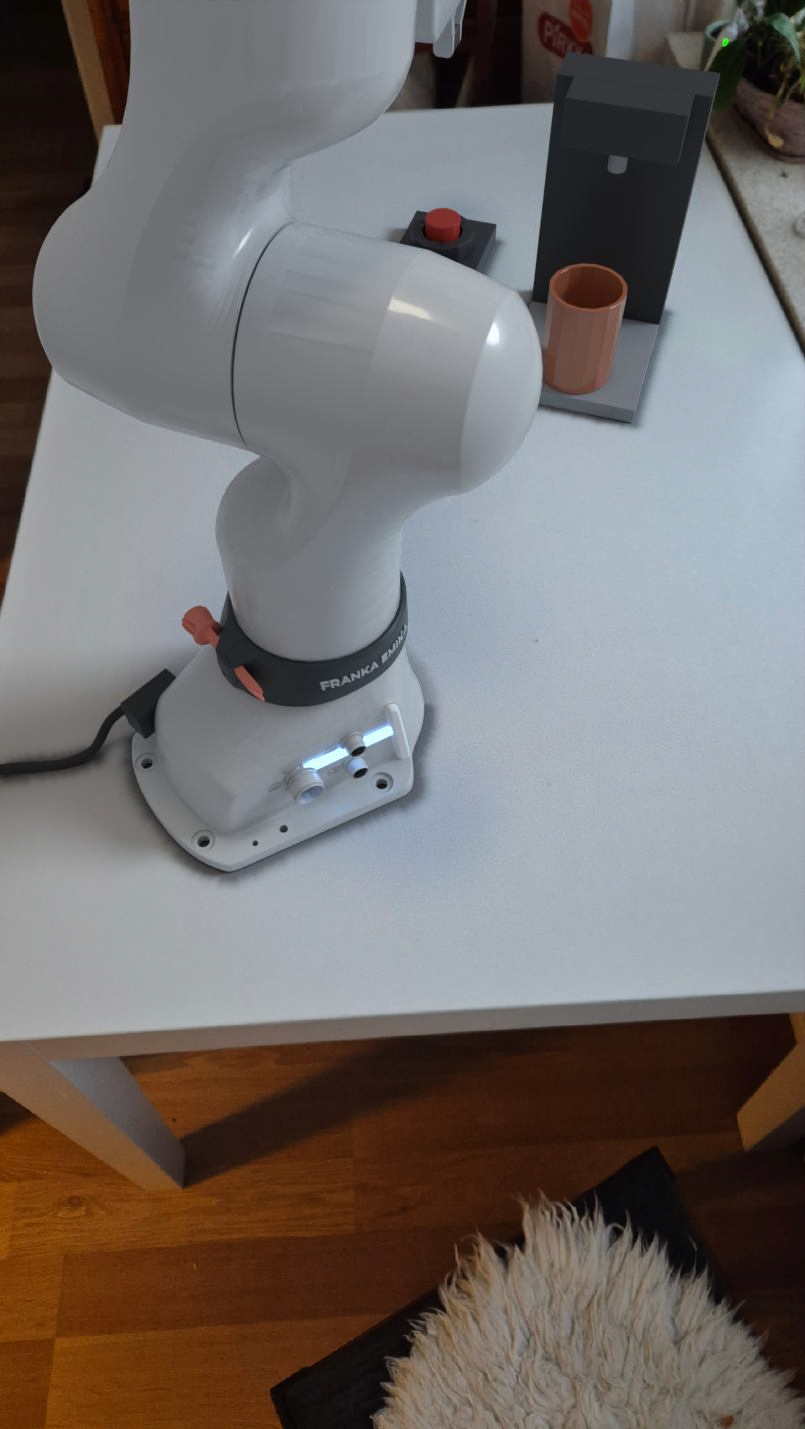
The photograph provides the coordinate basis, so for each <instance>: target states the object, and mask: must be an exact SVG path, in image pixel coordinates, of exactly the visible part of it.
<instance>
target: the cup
mask: <svg viewBox="0 0 805 1429" xmlns="http://www.w3.org/2000/svg"><path fill="white" fill-rule="evenodd" d="M626 297H627V284H626V282H625V281H624V279H623V278H622V276H621V275H619V274H618V273H616V272H615V271H613V270H612V269H610V268H607V267H604V266H601V265H597V264H585V263H583V264H582V263H581V264H575V265H570V266H567V267H565V268H563V269H561V270H559V271H557V272H556V273H555V274H554V276H553V277H552V278H551V279H550V285H549V293H548V301H547V308H546V316H545V324H544V332H543V340H542V348H541V353H542V366H543V372H542V379H543V380H544V382H545V383H546V384H547V385H549V386H550V387H551V388H553V389H555V390H557V391H560V392H563V393H567V394H577V395H578V394H588V393H592V392H595V391H597V390H599V389H600V388H602V387H603V386H604V385H605V384H606V383H607V382H608V380H609V378H610V375H611V372H612V367H613V362H614V357H615V352H616V347H617V342H618V337H619V332H620V327H621V322H622V317H623V312H624V307H625V302H626Z"/></svg>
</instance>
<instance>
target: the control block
mask: <svg viewBox="0 0 805 1429" xmlns="http://www.w3.org/2000/svg"><path fill="white" fill-rule="evenodd" d="M428 212H429V211H423V210H416V211H415V212H414V215H413V216H412V219H411V220H410V222H409V224H408V226H407V228H406V230H405V232H404V234H403V235H402V238H401V239H400V241H399V244H403V245H408V246H412V247H417V248H422V249H426V250H430V251H432V252H434V253H437V254H439V255H441V256H444V257H446V258H448V259H450V260H453V261H455V262H457V263H460V264H462V265H464V266H466V267H469V268H471V269H473V270H475V271H477V272H479V273H481V274H483V271H484V269H485V266H486V264H487V262H488V260H489V258H490V256H491V253H492V251H493V249H494V247H495V244H496V239H497V238H496V237H497V226H498V225H497V223H493V222H492V223H491V222H487V221H480V220H475V219H469V218H466V217H464V216H463V215H461V214H459V216H460V235H459V237H458V238H457V239H455V240H453V241H449V242H437V241H431V240H430V239H428V238H427V237H426V235H425V217H426V215H427V213H428Z"/></svg>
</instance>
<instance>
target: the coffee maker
mask: <svg viewBox="0 0 805 1429" xmlns="http://www.w3.org/2000/svg"><path fill="white" fill-rule="evenodd" d="M720 77H721V72H715V71H708V70H700V69H693V68H686V67H680V66H674V65H673V66H672V65H665V64H657V63H652V62H645V61H638V60H629V59H623V58H616V57H609V56H602V55H594V54H587V53H581V52H573V51H566V54H565V56H564V58H563V60H562V62H561V64H560V67H559V69H558V71H557V73H556V78H555V79H556V80H555V87H554V97H553V104H552V114H551V123H550V125H551V126H550V133H549V141H548V150H547V160H546V169H545V178H544V186H543V195H542V196H543V197H542V203H541V214H540V222H539V223H540V224H539V230H538V231H539V232H538V239H537V240H538V241H537V249H536V256H535V257H536V258H535V267H534V276H533V286H532V293H531V294H532V295H531V302H530V304H529V307H528V310H529V312H530V314H531V317H532V319H533V321H534V324H535V327H536V330H537V333H538V337H539V342H540V347H541V348H542V340H543V332H544V324H545V316H546V308H547V301H548V293H549V285H550V279H551V278H552V277H553V276H554V274H555V273H556V272H557V271H559V270H561V269H563V268H565V267H567V266H570V265H575V264H581V263H582V264H583V263H585V264H597V265H601V266H604V267H607V268H610V269H612V270H613V271H615V272H616V273H618V274H619V275H621V276H622V278H623V279H624V281H625V282H626V284H627V297H626V302H625V307H624V312H623V317H622V322H621V327H620V332H619V337H618V342H617V347H616V352H615V357H614V362H613V367H612V372H611V375H610V378H609V380H608V382H607V383H606V384H605V385H604V386H603V387H602V388H600V389H599V390H597V391H595V392H592V393H588V394H578V395H577V394H567V393H563V392H560V391H557V390H555V389H553V388H551V387H550V386H549V385H547V384H546V383H545V382H544V380H543V379H542V388H541V394H540V399H539V404H538V405H542V406H546V407H553V408H557V409H561V410H567V411H572V412H577V413H580V414H581V413H582V414H587V415H591V416H596V417H601V418H607V419H611V420H616V421H621V422H625V423H630V424H631V423H633V421H634V417H635V415H636V410H637V407H638V403H639V401H640V400H639V399H640V396H641V393H642V389H643V386H644V382H645V379H646V376H647V371H648V368H649V366H650V361H651V358H652V354H653V351H654V347H655V343H656V340H657V336H658V334H659V329H660V326H661V322H662V318H663V315H664V311H665V308H666V302H667V300H668V299H667V298H668V295H669V291H670V286H671V282H672V277H673V273H674V270H675V265H676V262H677V257H678V253H679V249H680V244H681V240H682V236H683V232H684V228H685V224H686V219H687V216H688V211H689V207H690V203H691V198H692V194H693V191H694V186H695V181H696V178H697V173H698V169H699V165H700V161H701V157H702V152H703V148H704V144H705V140H706V136H707V133H708V132H707V131H708V127H709V123H710V119H711V115H712V111H713V106H714V103H715V99H716V94H717V90H718V86H719V81H720Z"/></svg>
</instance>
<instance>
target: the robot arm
mask: <svg viewBox="0 0 805 1429" xmlns="http://www.w3.org/2000/svg"><path fill="white" fill-rule="evenodd" d="M466 4H467V0H128V7H129V8H128V10H129V11H128V12H129V28H130V61H129V62H130V64H129V66H130V67H129V82H128V90H127V97H126V105H125V108H124V113H123V118H122V124H121V127H120V130H119V133H118V137H117V140H116V143H115V145H114V148H113V150H112V153H111V155H110V158H109V161H108V162H107V164H106V166H105V168H104V169H103V171H102V173H101V175H100V176H99V177H98V179H97V180H96V181H95V183H94V184H93V186H91V187H90V189H88V190H87V191H86V193H84V195H81V196H80V197H79V198H78V199H77V200H75V201H74V202H72V204H70V205H69V206H68V207H67V208H66V209H65V210H64V211H63V212H62V214H60V216H59V217H58V218H57V220H56V221H55V222H54V223H53V225H52V226H51V228H50V230H49V231H48V233H47V235H46V237H45V238H44V240H43V242H42V245H41V247H40V250H39V253H38V256H37V259H36V263H35V268H34V272H33V279H32V310H33V317H34V322H35V325H36V326H35V327H36V331H37V335H38V338H39V341H40V344H41V346H42V348H43V350H44V352H45V355H46V357H47V359H48V361H49V363H50V365H51V367H52V368H53V370H54V371H55V372H56V373H57V375H58V376H59V377H60V378H61V379H62V380H63V381H64V382H65V383H67V384H68V385H70V386H72V387H73V388H75V389H77V390H79V391H81V392H82V393H85V394H87V395H88V396H90V397H92V398H94V399H96V400H97V401H100V402H101V403H104V404H105V405H107V406H109V407H111V408H113V409H115V410H117V411H119V412H121V413H122V414H125V415H127V416H129V417H131V418H133V419H135V420H138V421H139V422H140V423H141V422H142V423H143V424H147V425H151V426H154V427H158V428H162V429H164V430H165V429H166V430H169V431H173V432H177V433H180V434H184V435H187V436H191V437H195V438H199V439H202V440H205V441H210V442H212V443H213V442H214V443H218V444H221V445H224V446H228V447H232V448H235V449H239V450H243V451H247V452H251V453H253V454H255V455H257V456H258V457H257V458H255V459H254V460H252V461H251V462H249V463H248V464H247V465H246V466H244V467H243V468H241V470H240V471H239V472H237V474H236V475H235V476H234V477H233V479H232V480H231V481H230V482H229V484H228V486H226V489H225V491H224V492H223V494H222V496H221V499H220V501H219V505H218V509H217V513H216V517H215V518H216V519H215V523H214V524H215V525H214V535H215V541H216V546H217V550H218V554H219V557H220V563H221V566H222V570H223V574H224V579H225V582H226V586H227V591H226V595H225V598H224V603H223V607H222V610H221V615H220V617H219V618H220V619H219V621H218V620H215V619H214V617H213V614H212V613H211V611H210V610H209V608H207V607H206V606H203V605H196V606H193V607H191V608H190V609H188V610H187V611H186V612H185V613H184V614H183V617H182V619H181V626H182V627H183V629H184V630H185V631H186V633H188V634H189V635H190V636H192V638H193V641H194V642H195V644H197V646H198V645H199V646H203V647H202V648H201V649H200V650H199V651H198V652H197V654H195V656H194V657H193V658H192V659H191V660H190V661H189V663H188V664H186V666H185V667H184V668H183V669H182V670H181V671H180V673H179V674H177V676H176V675H175V674H173V673H172V672H171V671H170V670H169V669H168V668H164V669H162V670H161V671H160V672H159V673H157V674H156V675H155V676H154V677H152V678H151V679H150V680H149V681H147V682H146V683H145V684H143V685H142V686H141V687H139V688H138V689H137V690H135V691H134V692H133V693H132V694H130V695H129V696H127V698H125V699H124V700H122V701H121V702H120V703H119V706H117V707H116V708H115V709H113V710H112V711H111V712H110V713H109V714H108V715H107V716H106V717H105V719H104V720H103V722H102V724H101V725H100V727H99V729H98V732H97V734H96V736H95V737H94V739H93V741H92V742H91V744H90V745H89V746H88V747H87V748H86V749H84V750H82V751H80V752H78V753H75V754H73V755H70V756H68V757H67V756H66V757H63V758H58V759H50V760H38V761H37V760H35V761H31V760H30V761H17V762H16V761H15V762H6V763H0V775H5V774H13V773H24V772H25V773H26V772H47V771H57V770H63V769H67V768H70V767H74V766H77V765H80V764H82V763H84V762H86V761H87V760H89V759H91V758H93V757H94V756H95V755H96V754H97V753H98V752H99V751H100V750H101V749H102V747H103V745H104V744H105V742H106V740H107V738H108V736H109V733H110V731H111V730H112V728H113V726H114V725H115V723H117V722H118V720H120V719H121V718H122V717H123V716H125V718H126V720H127V722H128V725H129V726H130V727H131V728H132V729H134V730H135V731H136V732H135V734H134V735H133V737H132V743H131V758H132V760H131V761H132V766H133V770H134V774H135V778H136V781H137V783H138V786H139V788H140V791H141V793H142V795H143V797H144V800H145V801H146V803H147V804H148V806H149V808H150V809H151V811H152V813H153V814H154V815H155V817H156V819H157V820H158V821H159V823H160V824H161V825H162V826H163V828H164V829H165V830H166V832H167V833H168V834H169V835H170V836H171V838H173V840H174V841H175V842H176V843H177V844H178V845H179V846H180V847H181V848H182V849H184V850H185V851H186V852H187V853H188V854H190V855H191V856H192V857H194V858H196V859H197V860H198V861H200V862H202V863H204V864H205V865H208V866H209V867H212V868H214V869H217V870H221V871H223V872H235V871H238V870H240V869H243V868H245V867H247V866H249V865H251V864H254V863H256V862H259V861H261V860H264V859H266V858H267V857H270V856H272V855H274V854H277V853H279V852H281V851H283V850H286V849H288V848H290V847H292V846H295V845H297V844H299V843H301V842H304V841H307V840H308V839H310V838H313V837H315V836H318V835H320V834H323V833H324V832H327V831H329V830H330V829H334V828H335V827H337V826H340V825H342V824H344V823H346V822H349V821H350V820H353V819H356V818H358V817H360V816H362V815H365V814H367V813H369V812H371V811H373V810H376V809H378V808H380V807H382V806H385V805H387V804H390V803H392V802H394V801H396V800H398V799H401V798H402V797H404V796H406V795H407V794H408V793H410V792H411V791H412V788H413V786H414V781H415V780H414V779H415V778H414V777H415V775H414V774H415V773H414V762H413V761H414V760H413V754H414V750H415V746H416V744H417V742H418V739H419V737H420V734H421V731H422V728H423V723H424V718H425V699H424V695H423V694H424V693H423V690H422V687H421V684H420V682H419V679H418V677H417V676H416V674H415V672H414V670H413V669H412V667H411V664H410V661H409V657H408V654H407V649H406V640H407V635H408V629H409V611H408V608H409V607H408V595H407V585H406V581H405V580H406V579H405V577H404V575H403V571H402V570H401V559H402V545H403V544H402V543H403V538H404V537H403V535H404V529H405V527H406V524H407V522H408V520H409V519H410V518H411V517H412V516H413V515H414V514H416V513H417V512H418V511H420V510H421V509H424V508H425V507H427V506H428V505H430V504H432V503H435V502H438V501H439V500H442V499H445V498H448V497H452V496H457V495H462V494H467V493H470V492H472V491H474V490H476V489H477V488H479V487H481V486H482V485H483V484H485V483H486V482H488V481H489V480H491V479H492V478H493V477H494V476H496V475H497V474H498V473H499V472H501V470H503V469H504V468H505V466H507V464H508V463H509V462H510V460H511V459H512V458H513V457H514V456H515V455H516V453H517V452H518V450H519V449H520V447H521V446H522V445H523V443H524V441H525V439H526V438H527V436H528V434H529V432H530V429H531V428H532V425H533V422H534V420H535V417H536V414H537V410H538V407H539V405H540V404H539V399H540V394H541V388H542V372H543V366H542V353H541V347H540V342H539V337H538V333H537V330H536V327H535V324H534V321H533V319H532V317H531V314H530V312H529V310H528V309H529V307H528V306H527V304H526V302H525V300H524V299H523V297H522V295H521V294H520V293H519V292H518V290H516V289H514V288H513V287H510V286H508V285H507V284H504V283H502V282H500V281H498V280H496V279H493V278H492V277H490V276H487V275H486V274H484V273H479V272H477V271H475V270H473V269H471V268H469V267H466V266H464V265H462V264H460V263H457V262H455V261H453V260H450V259H448V258H446V257H444V256H441V255H439V254H437V253H434V252H432V251H430V250H426V249H422V248H417V247H412V246H408V245H403V244H399V243H400V242H399V243H398V242H393V241H389V240H384V239H380V238H375V237H371V236H366V235H361V234H357V233H353V232H347V231H343V230H339V229H334V228H330V227H325V226H321V225H320V226H319V225H315V224H311V223H307V222H306V221H305V220H302V219H299V218H296V217H295V216H294V213H293V210H292V205H291V201H290V200H291V198H290V197H291V196H290V188H291V187H290V186H291V174H292V170H293V165H294V161H296V160H300V159H302V158H305V157H308V156H310V155H313V154H316V153H318V152H321V151H323V150H326V149H328V148H331V147H333V146H335V145H337V144H339V143H341V142H343V141H345V140H347V139H349V138H351V137H353V136H355V135H357V134H358V133H360V132H362V131H363V130H365V129H367V128H368V127H369V126H372V125H373V124H374V123H375V122H376V121H377V120H378V119H379V118H381V117H382V116H383V115H384V114H385V112H386V111H387V110H388V109H389V108H390V107H391V105H392V104H393V102H394V101H395V100H396V98H397V96H398V95H399V93H400V91H401V89H402V88H403V85H404V84H405V81H406V79H407V76H408V74H409V71H410V69H411V65H412V63H413V62H412V61H413V58H414V54H415V45H416V43H423V44H432V52H433V55H434V56H436V57H437V58H442V59H443V58H444V59H450V58H451V57H453V55H454V52H455V51H456V49H457V47H458V46H459V44H460V42H461V40H462V32H463V31H462V29H463V20H464V15H465V10H466ZM148 764H152V765H151V766H150V767H148V768H145V766H147V765H148ZM380 784H383V785H386V787H385V788H379V787H378V786H379V785H380ZM204 841H207V842H209V843H208V844H207V845H206V846H201V843H202V842H204Z"/></svg>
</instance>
